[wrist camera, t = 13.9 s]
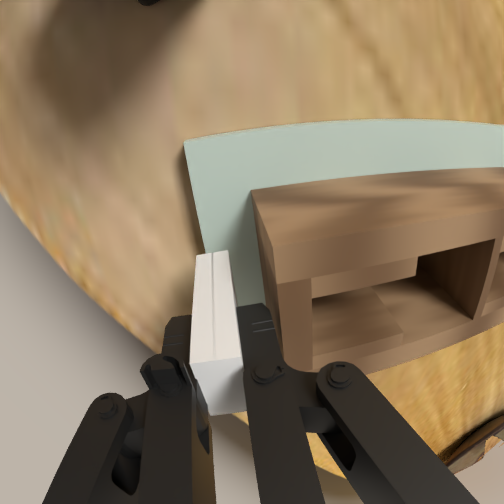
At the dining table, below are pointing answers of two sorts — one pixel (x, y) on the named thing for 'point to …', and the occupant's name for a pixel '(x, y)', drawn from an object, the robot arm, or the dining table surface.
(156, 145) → the dining table surface
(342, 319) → the divided compartment tray
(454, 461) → the broken dish
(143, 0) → the battery
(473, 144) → the board
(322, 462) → the dining table surface
